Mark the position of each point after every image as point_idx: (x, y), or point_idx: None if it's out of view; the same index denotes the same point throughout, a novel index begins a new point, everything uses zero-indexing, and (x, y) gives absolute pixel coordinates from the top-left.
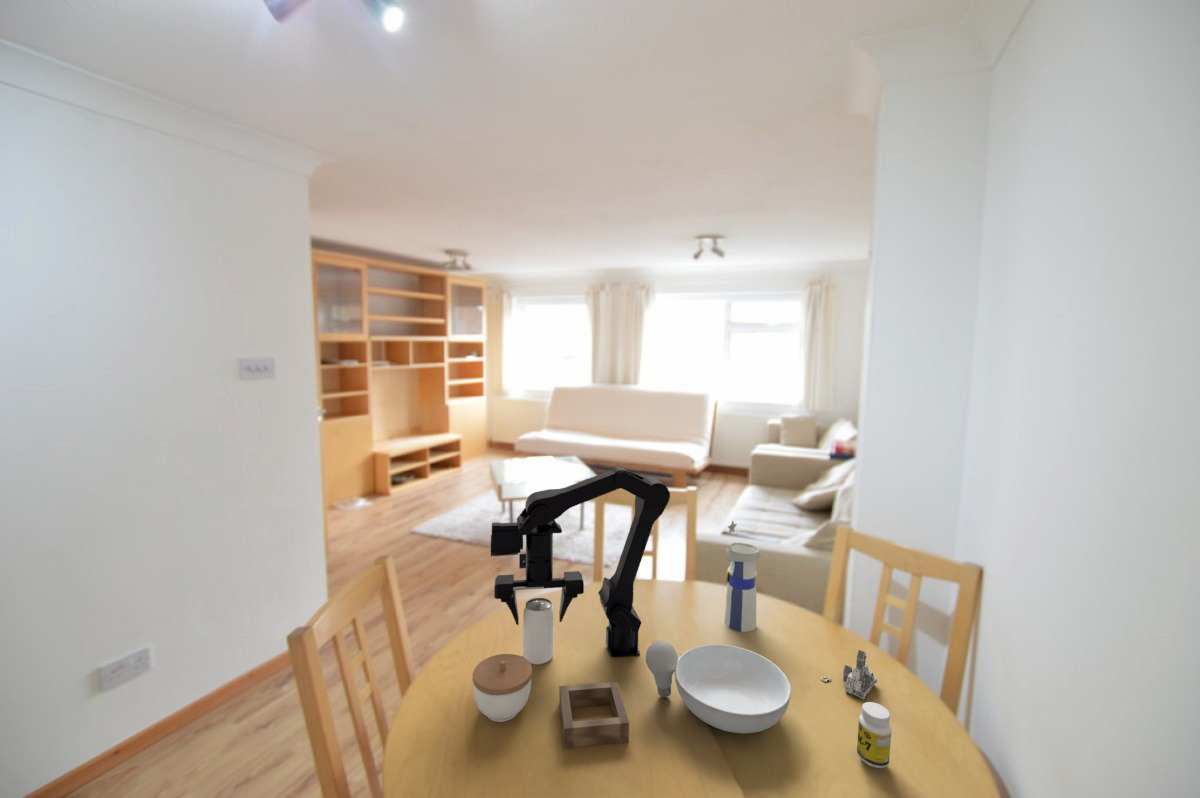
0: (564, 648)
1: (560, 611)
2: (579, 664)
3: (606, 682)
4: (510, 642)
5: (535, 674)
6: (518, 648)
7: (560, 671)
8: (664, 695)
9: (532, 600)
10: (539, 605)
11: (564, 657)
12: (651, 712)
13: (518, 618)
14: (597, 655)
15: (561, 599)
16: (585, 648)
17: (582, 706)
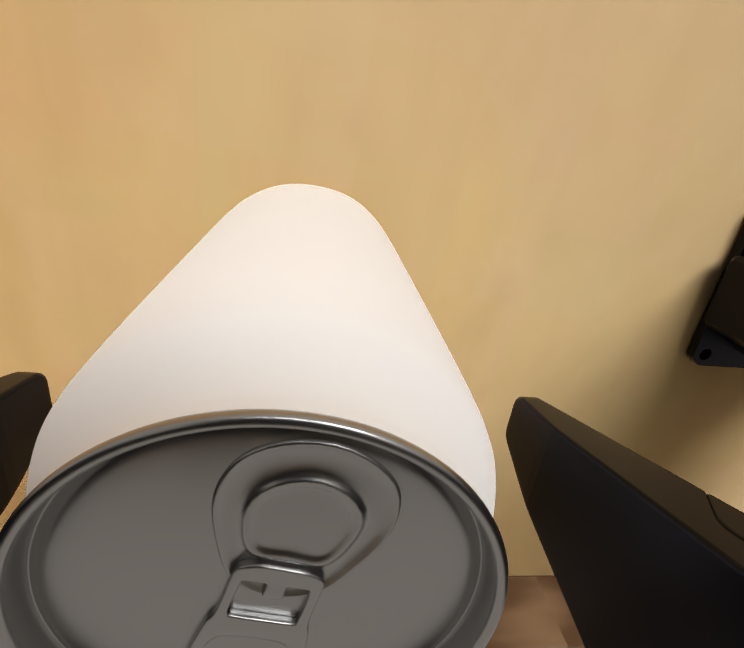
0: (480, 221)
1: (564, 545)
2: (510, 380)
3: (556, 646)
4: (93, 38)
5: None
6: (168, 147)
7: None
8: None
9: (135, 431)
10: (282, 603)
11: (454, 310)
12: None
13: (7, 463)
14: (628, 327)
15: (706, 631)
16: (599, 249)
17: None
